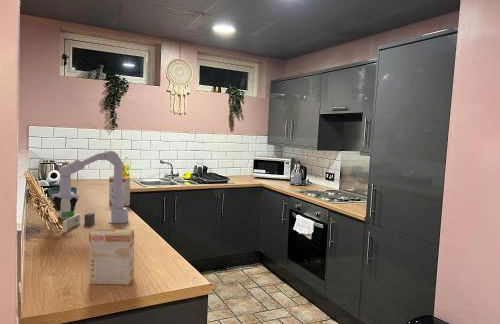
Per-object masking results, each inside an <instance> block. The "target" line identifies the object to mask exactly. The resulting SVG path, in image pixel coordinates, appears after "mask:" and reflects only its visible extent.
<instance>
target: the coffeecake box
mask: <svg viewBox="0 0 500 324" xmlns="http://www.w3.org/2000/svg"><path fill="white" fill-rule="evenodd" d="M88 267H89V268H88V269H89V270H88V277H89V278H88V280H89V281H88V283H89V285H126V286H129V285H130V284H131V282H132V281H133V280H134V278H135V229H115V228H114V229H111V228H109V229H108V228H96V229H94V230H93V231H91V232H89V233H88Z"/></svg>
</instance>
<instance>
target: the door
mask: <svg viewBox="0 0 500 324" xmlns="http://www.w3.org/2000/svg"><path fill="white" fill-rule="evenodd" d="M67 219H68V228H69V230H71V229H72V228H74V227H76V226H78V225H77V221H78V219H77V214H75V215H74V216H73V217H71V218H67Z"/></svg>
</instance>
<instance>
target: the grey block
mask: <svg viewBox="0 0 500 324" xmlns="http://www.w3.org/2000/svg"><path fill="white" fill-rule="evenodd" d="M83 217H84V226H92V225H93V224H95V223H96V221H95V217H96V216H95V213H93V212H87V213H85V214H84V215H83Z"/></svg>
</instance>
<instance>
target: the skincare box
mask: <svg viewBox="0 0 500 324" xmlns="http://www.w3.org/2000/svg"><path fill="white" fill-rule="evenodd" d="M58 194H60V193H58ZM71 194H73V195H75V193H73V192H71ZM70 199H71V198H62V199H61V210H60V211H58V215H59V217H60V218H61V220H65V219H69V218H71V217H73V216H75V215H76V214H75V213H76V211H75V208H74V211H72V212H71V204H70ZM58 215H57V216H58ZM59 217H58V218H59ZM60 218H59V219H60Z"/></svg>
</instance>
